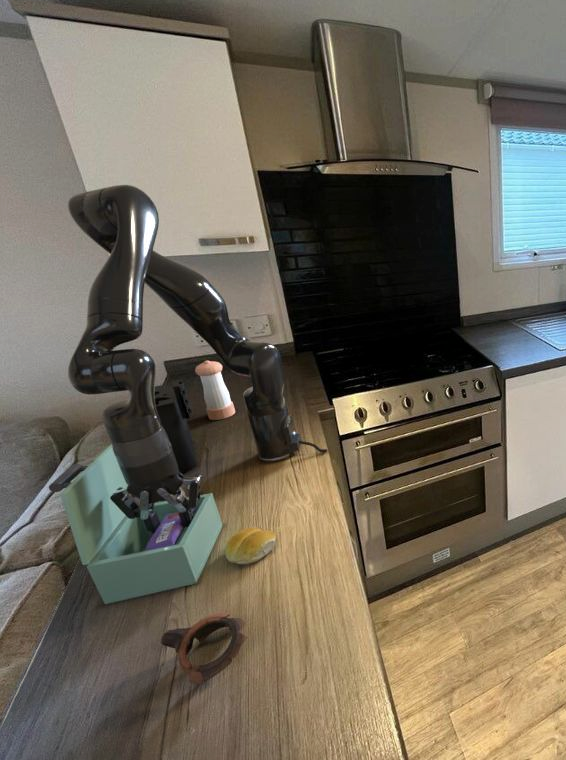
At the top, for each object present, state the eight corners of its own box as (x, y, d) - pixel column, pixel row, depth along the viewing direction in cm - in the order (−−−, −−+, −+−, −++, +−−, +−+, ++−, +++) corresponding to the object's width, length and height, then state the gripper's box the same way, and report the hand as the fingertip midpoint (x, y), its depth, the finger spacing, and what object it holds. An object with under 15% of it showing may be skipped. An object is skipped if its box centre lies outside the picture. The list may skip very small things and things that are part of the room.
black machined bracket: (150, 485, 110) (121, 407, 102) (151, 449, 125) (125, 379, 117) (207, 467, 117) (184, 393, 109) (201, 435, 132) (180, 368, 124)
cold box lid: (118, 442, 85) (84, 444, 83) (66, 493, 71) (24, 497, 69) (133, 504, 90) (102, 508, 88) (88, 564, 76) (49, 569, 74)
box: (222, 525, 97) (212, 492, 94) (196, 583, 83) (183, 546, 80) (146, 541, 93) (132, 507, 90) (104, 604, 79) (86, 566, 76)
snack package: (171, 544, 80) (138, 552, 79) (175, 552, 81) (142, 560, 79) (193, 504, 90) (164, 511, 89) (197, 511, 91) (168, 518, 90)
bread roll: (251, 531, 96) (247, 517, 94) (284, 540, 93) (280, 526, 92) (215, 560, 88) (210, 544, 87) (249, 571, 86) (245, 555, 84)
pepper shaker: (222, 421, 140) (206, 366, 133) (203, 419, 141) (186, 364, 134) (240, 410, 147) (226, 357, 140) (221, 408, 148) (206, 356, 141)
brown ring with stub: (260, 620, 77) (253, 608, 71) (236, 687, 70) (226, 681, 64) (181, 617, 74) (167, 605, 68) (149, 687, 67) (131, 680, 62)
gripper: (83, 473, 74) (117, 550, 80) (183, 457, 79) (208, 532, 85) (107, 449, 81) (137, 522, 87) (198, 436, 85) (221, 507, 91)
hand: (172, 527), depth 86 cm, fingers closed on snack package, 4 cm apart
